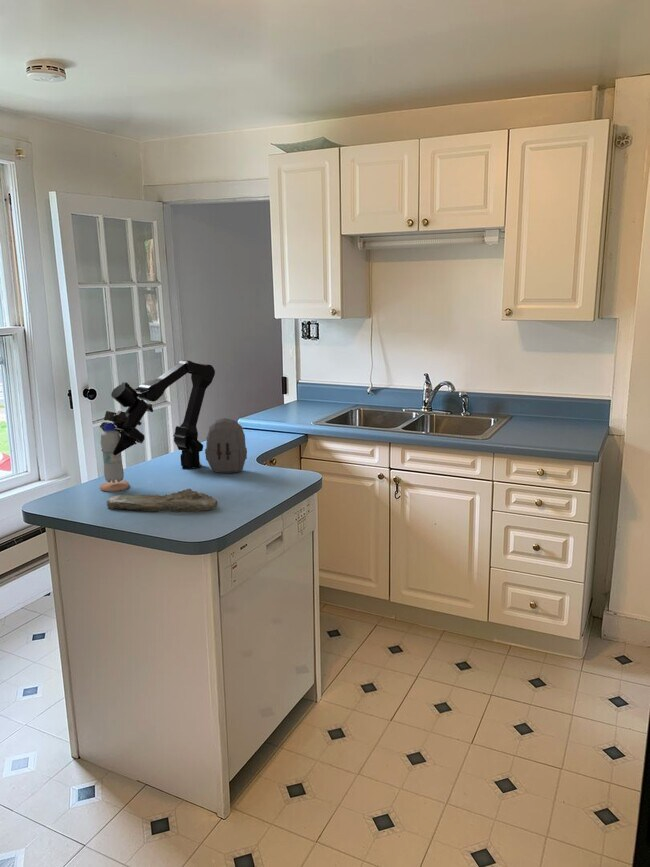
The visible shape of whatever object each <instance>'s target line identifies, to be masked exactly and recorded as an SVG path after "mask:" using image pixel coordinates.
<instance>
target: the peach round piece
mask: <svg viewBox="0 0 650 867" xmlns="http://www.w3.org/2000/svg"><path fill="white" fill-rule="evenodd" d="M126 488H127V489H128V488H130V482H129V481H127V480H122V481H120V482H117V480H115V483H112V481H111V482H110V483H108V482H107V481H105V482H103V483H101V484H99V490H100V489H101V490H103V491H102V492H105V491H114V492H119V491H120V490H121V491H124V490H127V489H126ZM101 490H100V491H101Z"/></svg>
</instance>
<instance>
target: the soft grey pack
mask: <svg viewBox="0 0 650 867" xmlns="http://www.w3.org/2000/svg"><path fill="white" fill-rule="evenodd" d="M246 445H247V444H246V435H245V432H244V429H243V426H242V425H241V424H239V423H238V422H237V420H234V419H230V418H225V417H224V418H220V419H216V420H215V421H214V422H212V424H210V425H209V428H208V433H207V436H206V447H205V449H204V453H205V460H206V461H207V463H208V465H209V467H210V470H211V471H212V472H216V473H226V474H227V473H228V474H230V473H232V474H233V473H237V472H242V471H243V469H244V466H245V463H246V460H247V458H248V454H247V453H248V450H247V446H246Z"/></svg>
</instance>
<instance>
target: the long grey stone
mask: <svg viewBox="0 0 650 867" xmlns="http://www.w3.org/2000/svg"><path fill="white" fill-rule="evenodd" d="M218 505H219V502H218V500H217V498H215V497H213V496H209V495H208V494H206V493H203V492H198V491H195V490H192V489H191V488H186V489H183V490H179V491H177V492H173V493H171V494H170V493H169V494H165V495H158V494H157V495H154V494H151V495H150V494H148V495H145V494H144V495H143V494H140V495H139V494H137V495H136V494H117V495H113V496H111V497H109V498H108V499H107V501H106V506H107V508H109V509H111V508H113V509H119V510H128V511H129V510H130V511H136V512H137V511H144V512H175V513H179V512H180V513H181V512H186V513H196V512H204V511H211V510H214V509H216V508H217V506H218Z"/></svg>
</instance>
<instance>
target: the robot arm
mask: <svg viewBox="0 0 650 867" xmlns="http://www.w3.org/2000/svg"><path fill="white" fill-rule="evenodd" d="M187 374H190V375H191V377H190V379H191V383H192V388H191V392H190V396H189V399H188V403H187V406H186V410H185V415H184V418H183V421H182V423H181V424H180V426H179V425H176V426H175V429H174V433H173V435H172V437H173V442H174V444H175V445H176V447H177V449H178V450H179V451H181V454H180V466H181V469H183V468H187V469H200V468H201V460H200V452H203V449H204V444H203V443H202V442H200V441H199V440H198V437H199V432H198V429H197V424H198V421H199V416H200V413H201V408H202V406H203V401H204V398H205V394H206V390H207V388H208V387H209V386H210V385H211V384H212V382H213V379H214V377H215V375H216V370H215V368H214V366H213V365H211V364H207V363H197V362H193V361H192V360H185V359H181V360H180V361H178V363H177V364H176V365H174V366H172V367H171V368H170V369H168V370H167V371H165V372H164V373H163V374H161V375H159V376H158V377H156V378H155V379H152V380H148V381H146V382H143V383H141V384H140V385H139V386H138V387H137V388H133V387H131V385H130V384H129V383H128V382H125V381H122V382H121V384H119V385H117V386H116V387H114V388H113V389H112V390H111V396H110V397H111V398H112V399H114V400H115V401H116V402H117V403H118V404H120V405H121V406H122V407H123V408H127V409H126V410H125V412H124V411H121V410H118V411H117V412H115V411H110V410H106V411H105V415H104V417H103V420H104V421H103V422H101V424H100V425H99V428H100V429H101V430H102V432H105V431H104V425H105V424H108V423H112V424H114V426H115V431H118V432H119V433H120V441H119V443H118V444H117V446H116V448H115V450H114V452H113V454H114V455H117V454H119V453H120V452H121V453H122V452H124V451H125V450H127V449H129V448H131V447H132V446H134V445H137V444H143V443H144V441H145V434H143V433H142V432H141V431H140V430H139V429H138V428H137V426H141V425H142V422H141V420H142V419H143V417H144V415H145V414H146V413H147V412H149V413H153V412H154V407H153V404H152V403H153V402H156V401H158V400H160V398H161V397H163V395H164V393H165V391H166V390H167V389H168V388H169V387H170V386H171V385H173V384H174V383H175V382H177V381H179V379H181V378H183V377H184V376H185V375H187ZM146 401H148V402H152V403H147V402H146ZM101 452H102V453H103V450H102V449H101ZM183 470H184V469H183Z"/></svg>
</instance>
